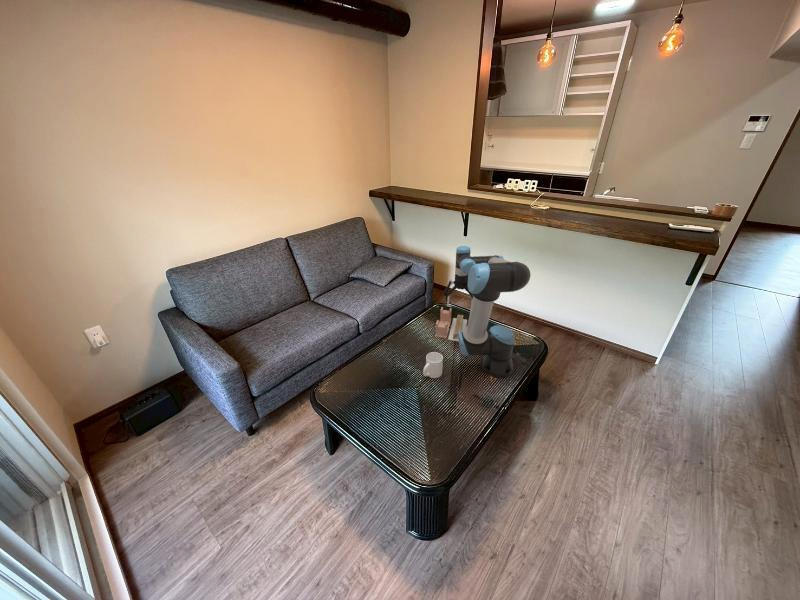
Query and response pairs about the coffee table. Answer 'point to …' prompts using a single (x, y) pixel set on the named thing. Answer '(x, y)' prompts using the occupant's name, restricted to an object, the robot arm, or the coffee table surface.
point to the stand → (443, 323)
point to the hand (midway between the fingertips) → (459, 306)
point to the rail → (458, 326)
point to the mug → (433, 365)
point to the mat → (454, 328)
